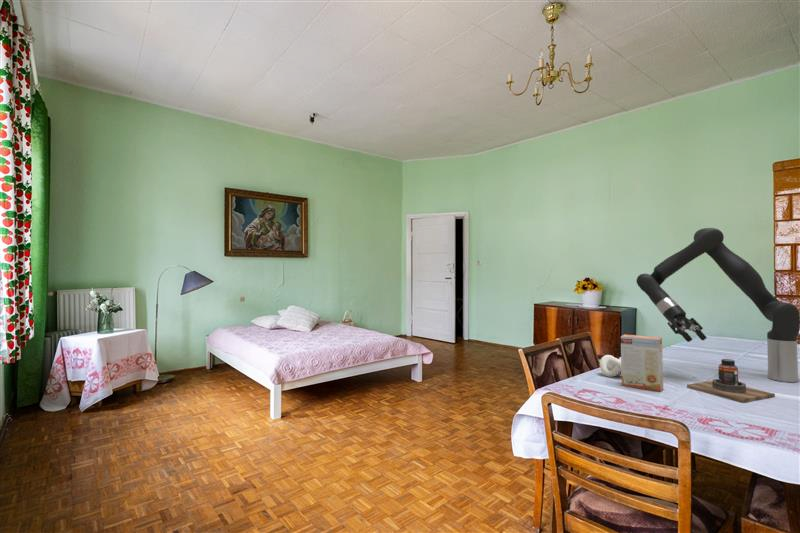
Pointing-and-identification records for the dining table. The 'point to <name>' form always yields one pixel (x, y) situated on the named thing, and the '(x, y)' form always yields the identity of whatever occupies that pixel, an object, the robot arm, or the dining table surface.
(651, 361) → the cracker box
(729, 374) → the supplement bottle
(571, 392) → the dining table surface
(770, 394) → the collar plate
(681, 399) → the dining table surface
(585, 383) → the dining table surface
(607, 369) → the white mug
